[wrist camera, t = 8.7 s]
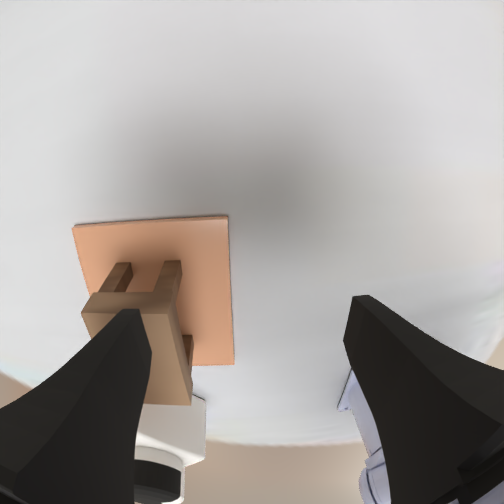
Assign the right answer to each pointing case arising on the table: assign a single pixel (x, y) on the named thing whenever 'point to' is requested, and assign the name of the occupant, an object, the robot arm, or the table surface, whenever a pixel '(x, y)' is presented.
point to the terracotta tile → (150, 264)
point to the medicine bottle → (167, 450)
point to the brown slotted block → (150, 328)
